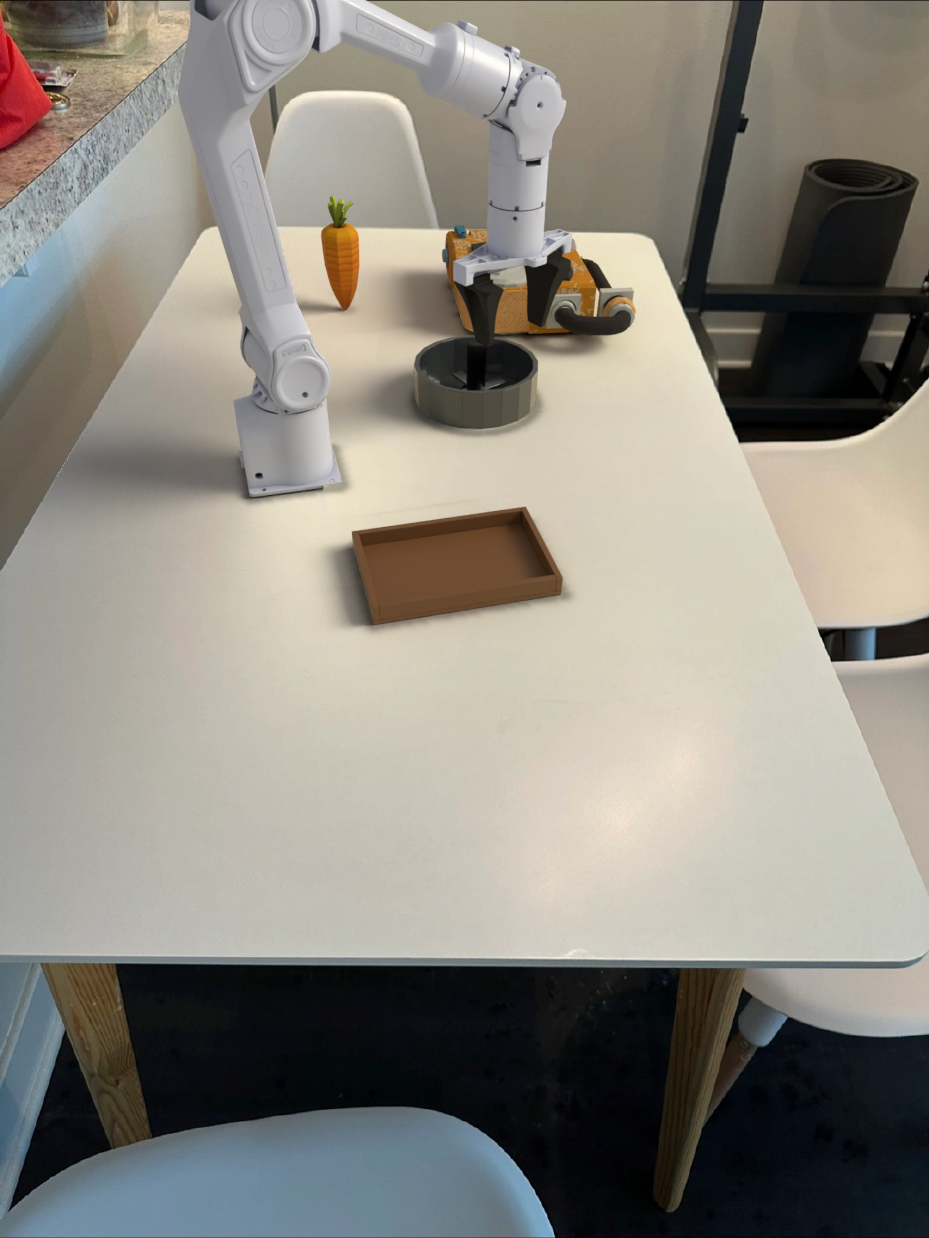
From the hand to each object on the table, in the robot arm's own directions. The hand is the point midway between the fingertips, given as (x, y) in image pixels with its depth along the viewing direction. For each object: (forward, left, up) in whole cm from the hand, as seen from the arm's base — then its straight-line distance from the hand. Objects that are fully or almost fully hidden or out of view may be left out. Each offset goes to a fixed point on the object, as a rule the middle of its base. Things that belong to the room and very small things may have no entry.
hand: (510, 333), depth 99 cm
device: (+11, +26, -10) cm, 31 cm away
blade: (-3, +4, -10) cm, 11 cm away
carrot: (-14, +33, -10) cm, 37 cm away
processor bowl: (-3, +4, -10) cm, 11 cm away
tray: (-13, -26, -10) cm, 30 cm away
